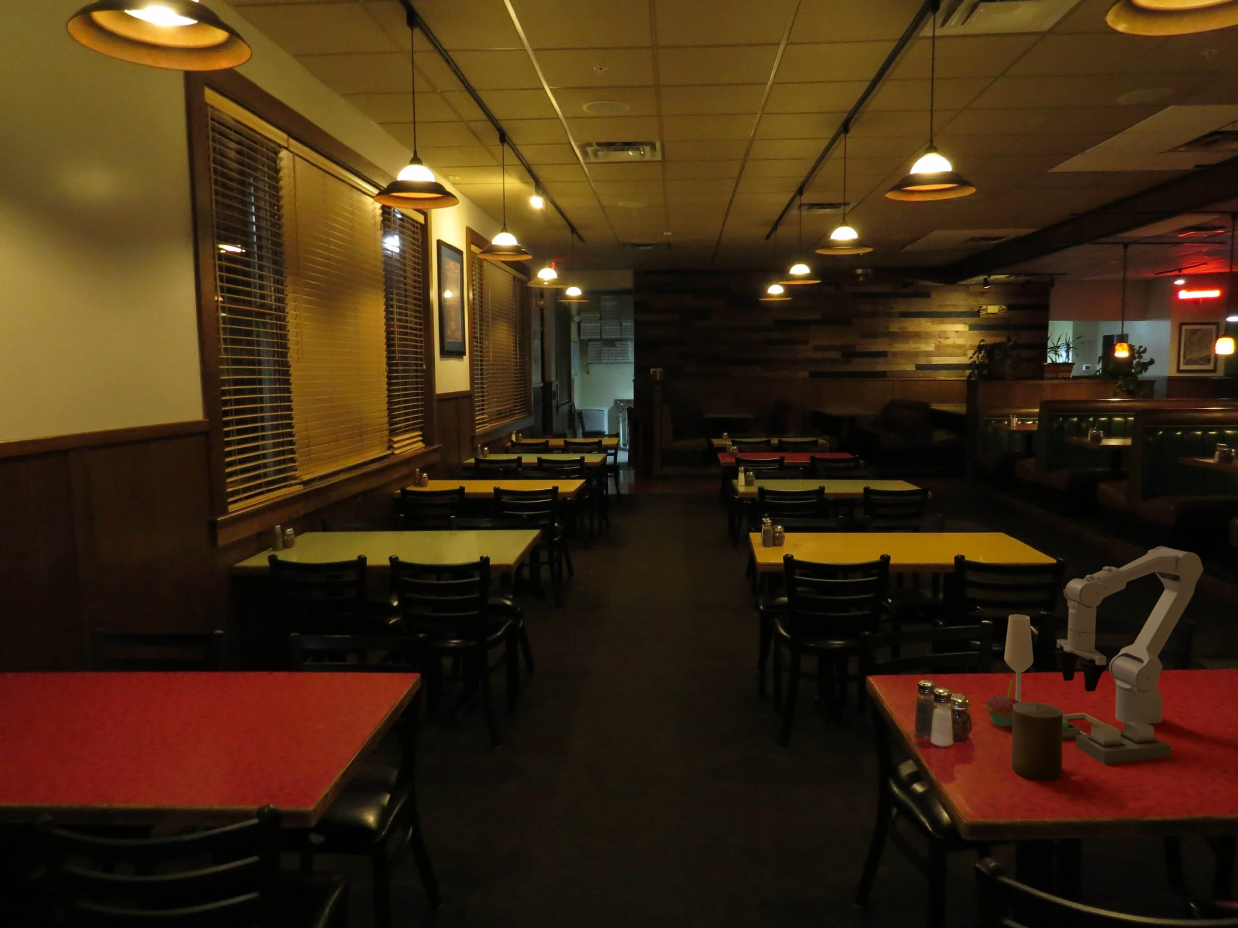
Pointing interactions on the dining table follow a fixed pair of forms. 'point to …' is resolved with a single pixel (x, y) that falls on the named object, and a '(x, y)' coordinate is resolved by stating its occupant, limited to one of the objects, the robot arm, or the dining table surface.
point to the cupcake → (1001, 708)
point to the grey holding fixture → (1123, 750)
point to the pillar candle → (1037, 741)
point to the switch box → (1070, 731)
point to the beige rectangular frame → (1082, 715)
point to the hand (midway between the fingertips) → (1079, 685)
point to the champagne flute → (1019, 647)
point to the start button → (1065, 724)
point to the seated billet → (1138, 732)
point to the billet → (1105, 735)
